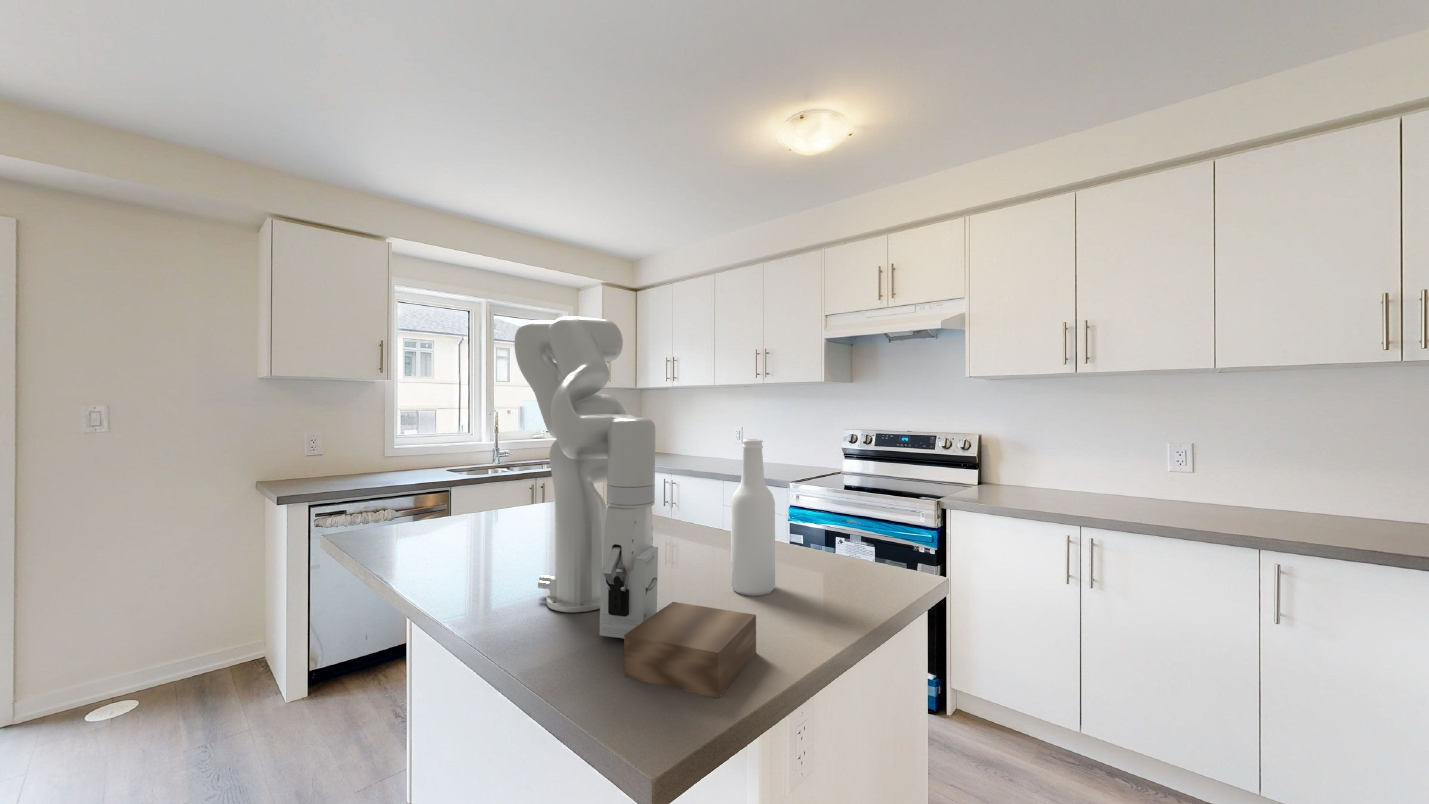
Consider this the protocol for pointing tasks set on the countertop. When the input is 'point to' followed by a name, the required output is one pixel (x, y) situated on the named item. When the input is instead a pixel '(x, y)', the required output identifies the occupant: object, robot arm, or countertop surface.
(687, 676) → the walnut block
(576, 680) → the countertop surface
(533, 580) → the countertop surface
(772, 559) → the white bottle
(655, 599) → the supplement box
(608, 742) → the countertop surface
